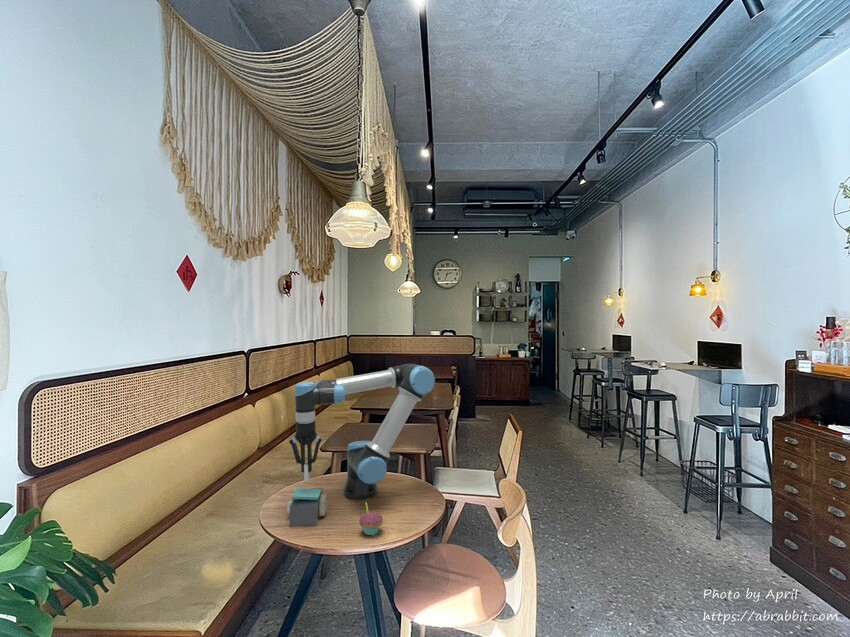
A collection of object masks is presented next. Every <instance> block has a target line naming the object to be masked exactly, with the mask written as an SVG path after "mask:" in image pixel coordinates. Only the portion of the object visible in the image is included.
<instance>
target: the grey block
mask: <svg viewBox="0 0 850 637" xmlns="http://www.w3.org/2000/svg"><path fill="white" fill-rule="evenodd" d="M311 489H321V494H320V496H319V499H318V500H304V499H292V500H291V501H292V503H291V505H290V512H289V527H290V528H295V527H294V526H302V527H317V526H318V523H319V520H318V519H320V517H319V500H320V497H321V495H322V494H324V491H323V487H319V488H318V487H317V488H316V487H314V488H312V487H311ZM317 522H318V523H317Z"/></svg>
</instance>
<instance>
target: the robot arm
mask: <svg viewBox="0 0 850 637" xmlns="http://www.w3.org/2000/svg"><path fill="white" fill-rule="evenodd" d="M435 382H436V378H435V376H434V373H433V371H432V370H431V369H430V368H428V367H426V366H424V365H419V364H416V363H405V364H400V365H396V366H390V367H389V368H388V369H386V370H380V371H374V372H369V373H364V374H359V375H350V376H346V377H340V378H335V379H328V380H327V379H320V380H318V381H317V382H316V383H315V382H314V381H301V382H298V383H296V385H295V389H294V390H295V392H294V399H295V401H294V402H295V404H294V406H295V434H294V437H292V438H290V439H289V442H288V443H289V444H290V445H291V448H292V450H293V451H292V452H293V455H294V459H295V463H296V464H300V465H301V467H300V468H301V470H300V472H301V473H303V480H304V482H309V480H310V473H311V472H312V468H313V466H312V464H315V462H316V461H317V458H318V454H319V449H320V445H321V442H322V441H323V437H322V436H319V435H318V434H317V432H316V421H315V420H316V406H325V405H334V404H335V405H338V404H341V403H344V402H345V400H346V395H350V394H357V393H360V392H366V391H372V390H377V389H382V388H383V389H384V388H389V387H391V388H393V389H394V388H398V391H399V393H398V394H397V396H396V399H395V400H394V401H393V403H392V405H391V407H390V409H389V410H388V412H387V414H386V416H385V418H384V419H383V421H382V422H381V425H380V427H379V428H378V430H377V431H376V434H375V436H374V437H373V438H372V440H359V441H358V440H357V441H352V442H350V443H348V444H347V449H346V452H347V454H346V455H347V476H346V480H345V483H344V486H343V497H346V498H347V499H350V500H355V499H361V500H367V499H370V497H371V498H373V497H375V496H376V495H377V494H378V485H377V483H379V482H381V481H382V480H383V479H384V478H385V476H386V475H387V470H388V469H387V464H388V462H389V459H390V458H391V456H390V451H391V449H392V448H393V445H394V444H395V441H396V440H397V438H398V436H399V434H400V433H401V431H402V429H403V427H404V425H405V423H406V422H407V421H408V418H409V416H410V414H411V413H412V411H413V409H414V407H415V406H416V405H417V404H416V403H417V402H421V401H422V400H423V398H424V397H425V395H427V394H429V393H430V392H432V390H433V389H434V387H435V384H436V383H435ZM314 440H315V442H316V443H315V447H314V453H313V455H312V443H314ZM297 442H298V444H299V446H300V452H299V449H298V445H297ZM306 448H307V450H306ZM306 451H307V462H306ZM366 498H367V499H366Z"/></svg>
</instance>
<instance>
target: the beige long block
mask: <svg viewBox="0 0 850 637" xmlns="http://www.w3.org/2000/svg"><path fill="white" fill-rule="evenodd" d="M327 498H328V497H327V493H323V494H322V495H321V497H320V500H319V516H320V517H322V516H323V517H324V516H325V515H326V512H327V500H328V499H327ZM292 501H293V500H288V502H287V504H286V505H287V513H288V512H289V513H290V505H291V503H292Z"/></svg>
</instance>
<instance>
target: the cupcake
mask: <svg viewBox="0 0 850 637" xmlns="http://www.w3.org/2000/svg"><path fill="white" fill-rule="evenodd" d="M365 509H366V510H365V511H366V512H365V513H364V514H362V515H361V516H360V518H359V525H360V527H362V529H363V533H364V535H365V534H367V535H373V534H376V533H377V534H378V532H379V528H380V527H381V526H382V525H383V523H384V521H383V518H382V515H381V514H379V513H378V512H376V511H375V512H374V511H369V507H368V503H367V501H365ZM377 534H376V535H377ZM367 535H366V536H367Z"/></svg>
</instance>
